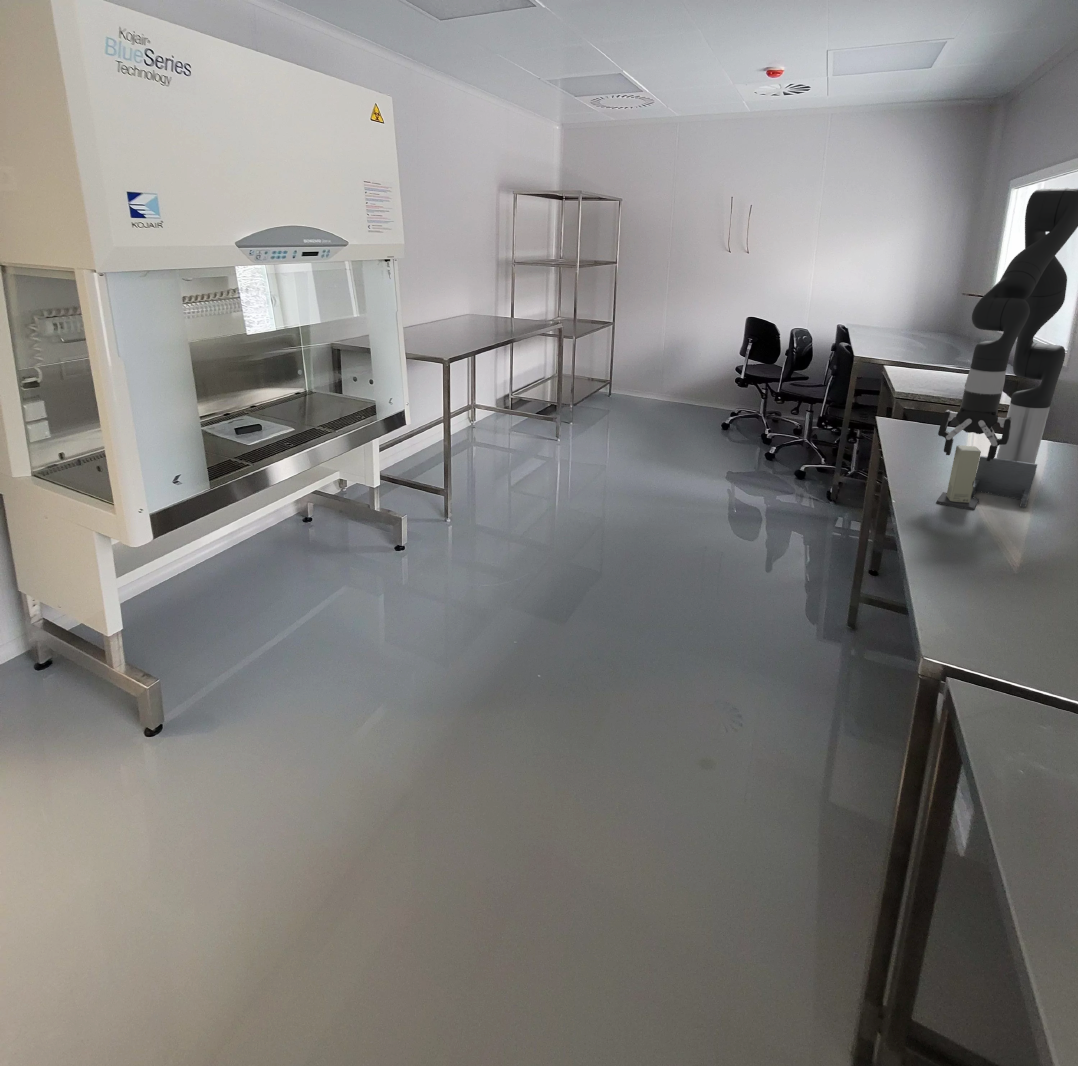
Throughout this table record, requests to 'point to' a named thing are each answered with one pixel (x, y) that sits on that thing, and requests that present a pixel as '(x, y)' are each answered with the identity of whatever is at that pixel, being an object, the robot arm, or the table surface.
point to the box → (963, 473)
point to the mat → (945, 501)
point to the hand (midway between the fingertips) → (967, 457)
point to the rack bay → (1004, 478)
